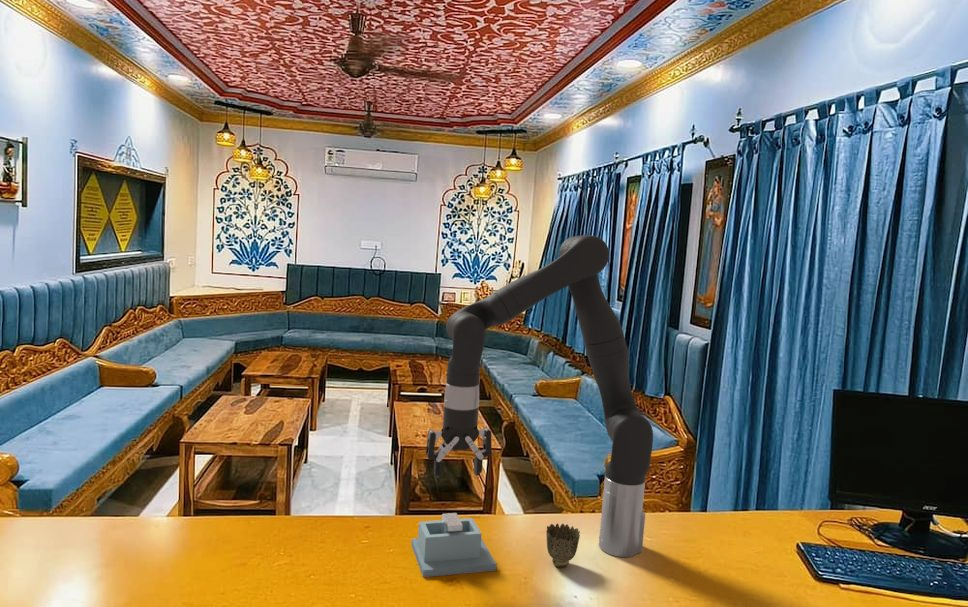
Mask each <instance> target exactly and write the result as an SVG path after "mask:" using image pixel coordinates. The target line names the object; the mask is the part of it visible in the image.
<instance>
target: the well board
mask: <svg viewBox="0 0 968 607" xmlns="http://www.w3.org/2000/svg"><path fill="white" fill-rule="evenodd" d="M459 519H460V521H461V523H462V525H463V526H462V530H460V531H459V533H446V534H441V526H442V519H440V520H439V519H437V520H425V521H419V522H418V530H417V531H418V533H417V534H418V535H417V538H416V537H415V538H411V542H410V543H411V544H410V545H411V547H412V551H413V554H414V556H415V559H416V562H417V565H418V568H419V570H420V573H421V575H422V577H423V578H430V577H438V576H439V577H441V576H449V575H450V576H451V575H463V574H472V573H483V572H486V573H487V572H494V571H497V562H496V560H495V559H494V557H493V555H492V554H491V552H490V551H489V548H488V547H487V545H486V543H485V542H484V540H483V538H482V535H483V534H482V532H481V530H480V528H479V526H478V525H477V523H476V522H475V520H474V518H472V517H471V518H470V517H469V518H459Z"/></svg>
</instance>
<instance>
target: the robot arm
mask: <svg viewBox="0 0 968 607" xmlns="http://www.w3.org/2000/svg"><path fill="white" fill-rule="evenodd" d="M609 259H610V251H609V248H608V245H607V243H606V242H605V241H604V240H603V239H602V238H601V237H599V236H596V235H590V234H582V235H576V236H571V237H567V239H565V240H564V241H563V242H562V244H561V245H560V247H559V250H558V257H557V258H556V259H555V260H553V261H552V262H549V263H548V264H546V265H545V266H543V267H541V268H539V269H537V270H535V271H532V272H530V273H527V274H526V275H524V276H521V277H519V278H517V279H515V280H513V281H511V282H509V283H508V284H505V285H504V286H502V287H501V288H499V289H497V290H496V291H495V292H492V293H491V294H490V295H488V296H487V297H485V298H483V299H481V300H478V301H476V302H472V303H470V304H468V305H467V306H464V307H462V308H460V309H458V310H457V311H455V312H454V313H453V314H451V316H449V317H448V320H447V321H446V328H445V330H446V331H445V332H446V334H447V335H448V337H449V338H450V340H452V343H453V344H452V353H451V357H450V358H449V359H448V362H447V366H446V381H445V382H446V383H445V390H444V396H443V397H444V400H443V402H444V403H443V417H442V418H443V419H442V420H443V422H442V428H441V430H433V429H431V428H430V429H428V431H427V438H426V448H425V455H426V456H427V458H428V460H433V473H434V475H435V476H436V477H437V479H442V478H443V476H442V475H443V459H444V458H445V457H446V455H448V454H449V453H450V452H451V450H452V451H455V452H457V451H459V450H461V451H467V450H469V449H471V450H472V452H473V453H474V455H475V456H474V459H473V475H474V476H476V477H477V476H480V474H482V472H483V463H484V462H483V461H484V459H485V458H486V457H491V456H492V431H491V429H489V428H488V427H487V426H484V427H483V428H480V429H479V427H478V426H479V425H478V423H479V406H480V387H479V386H480V384H479V382H480V364H481V360H482V357H483V352H484V347H485V343H486V341H485V340H486V330H487V329H489V328H491V327H495V326H503V325H504V324H506V323H509V322H510V321H511V320H513V319H515V318H516V317H518V316H520V315H521V314H523V313H524V312H526V311H527V310H529V309H531V308H533V306H535V305H537V304H539V303H540V302H541V301H543V300H544V299H546V298H549V297H550V296H552V295H553V294H555V293H557V292H559V291H561V290H562V289H565V288H567V287H568V289H569V291H570V294H571V297H572V300H573V304H574V305H573V306H574V307H575V312H576V317H577V320H578V323H579V327H580V332H581V336H582V341H583V343H584V348H585V352H586V356H587V358H588V361H589V365H590V367H591V371H592V375H593V377H594V380H595V383H596V386H597V387H598V390H599V394H600V398H601V404H602V409H603V415H604V422H605V428H606V429H605V430H606V432H607V436H609V438H610V440H611V441H612V445H611V454H610V460H609V461H608V462H607V463H606V465H605V473H604V481H603V482H604V485H603V493H602V506H601V513H600V514H601V517H600V526H599V527H600V529H599V538H598V546H599V548H600V549H601V550H602V551H603V552H604V553H606V554H608V555H611V556H615V557H618V558H619V557H620V558H627V557H629V558H630V557H633V556H636V555H637V554H639V553H643V546H644V535H645V524H646V513H645V511H643V508H644V495H645V486H646V477H647V474H648V473H649V470H650V467H651V460H652V454H653V453H652V452H653V446H654V442H653V441H654V432H653V426H652V425H651V423H650V421H649V420H648V419H647V418H646V417H645V416H644V415H643V414H641V413H640V412H641V411H640V410H639V408H638V406H637V403H636V401H635V399H634V394H633V392H632V389H631V388H632V387H631V384H630V354H629V350H628V346H627V341H626V339H625V338H626V337H625V334H624V331H623V328H622V324H621V322H620V321H619V319H618V316H617V315H616V312H615V311H614V310H613V309H612V307H611V305H610V303H609V302H608V300H607V298H606V296H605V295H604V292H603V289H602V286H601V283H600V278H599V275H598V274H599V273H601V272H602V271H603V270H604V269H605V268H606V266H607V265H608V262H609ZM479 436H480V438H481V439H482V449H481V450H480V449H479V448H478V446H477V445H476V443H475V441H476V440H477V439H478V437H479ZM439 438H442V440H443V441H442V442H441V444H440V445H439V446H438V448H437V450H436V451H435V448H436V442H438V440H439Z"/></svg>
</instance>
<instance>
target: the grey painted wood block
mask: <svg viewBox="0 0 968 607" xmlns="http://www.w3.org/2000/svg"><path fill="white" fill-rule="evenodd" d="M460 519H461V518H460V517H459V516H458V513H457V512H451V513H450V512H448V513H442V514H441V520H442V526H441V534H446V533H459V531H460V530H462V526H463V525H462V523H461V521H460Z"/></svg>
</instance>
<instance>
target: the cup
mask: <svg viewBox="0 0 968 607" xmlns="http://www.w3.org/2000/svg"><path fill="white" fill-rule="evenodd" d="M580 534H581V533H580V530H579V528H578V527H576V528H574V525H571V526H569V524H568V523H566V524H564V523H561V525H559V523H556V525H555V524H553V523H550V525H547V526H546V549H547V552H548V555H549V557H550V558H551V559H552V560H551V562H552V564H553V566H555V567H557V568H559V569H560V568H561V569H564V568H567V567H568V566H569V564H570V561H571V560H572V559H573V558H574V557H575V556H576V553H577V550H578V547H579V546H578V545H579V541H580V537H581V536H580Z"/></svg>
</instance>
